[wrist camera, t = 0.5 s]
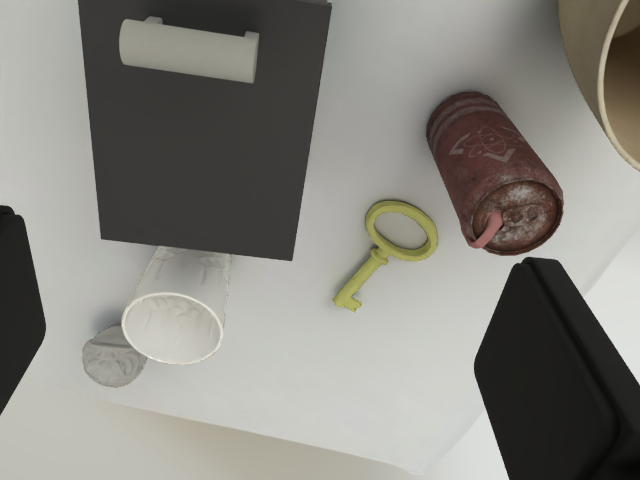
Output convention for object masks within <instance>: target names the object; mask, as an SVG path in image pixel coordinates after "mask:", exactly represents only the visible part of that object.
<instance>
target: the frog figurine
mask: <svg viewBox="0 0 640 480" xmlns="http://www.w3.org/2000/svg"><path fill="white" fill-rule="evenodd" d="M82 360H83V364H84V369H85V372H86V373H87V374H88V375H89V376H90V378H92V379H93V380H94V381H96V382H97V383H99V384H101V385H103V386H106V387H115V388H117V387H121V386H124V385H127V384H129V383H130V382H132V381H133V380H134V379H135V378H136V377H137V376H138V375H139V374H140V373H141V371H142V370H143V365H144V364H145V363H146V360H147V357H146V356H144V355H143V354H141V353H140V352H138V351H137V350H136V349H134V348H133V347H132V346H131V345H130V343H129V342H128V341H127V339H126V338H125V336H124V333H123V330H122V326H112V327H109V328H107V329H105V330H104V331H102V332H99V333H98V334H97V335H96V336H95V337H94V338H93V339H91V340H89V341H88V342H86V344H85V345H84V347H83V356H82Z"/></svg>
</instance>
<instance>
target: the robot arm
mask: <svg viewBox="0 0 640 480" xmlns="http://www.w3.org/2000/svg"><path fill="white" fill-rule="evenodd" d="M45 332H46V322H45V317H44V312H43V307H42V303H41V298H40V293H39V288H38V284H37V279H36V274H35V269H34V265H33V260H32V255H31V250H30V246H29V241H28V236H27V231H26V227H25V222H24V219H23V218H22V216H20V215H15V213H14V211H13V209H12V208H11V207H9V206H3V205H0V415H1V413H2V412H3V410H4V408H5V406H6V405H7V403H8V401H9V399H10V397H11V396H12V394H13V392H14V391H15V389H16V387H17V386H18V384H19V382H20V380H21V379H22V377H23V375H24V373H25V372H26V370H27V368H28V366H29V365H30V363H31V361H32V359H33V358H34V356H35V354H36V352H37V351H38V349H39V347H40V346H41V344H42V342H43V340H44V336H45ZM474 373H475V377H476V380H477V383H478V386H479V389H480V392H481V395H482V398H483V401H484V404H485V407H486V410H487V413H488V416H489V419H490V422H491V425H492V428H493V431H494V434H495V438H496V440H497V444H498V447H499V450H500V452H501V456H502V459H503V461H504V464H505V468H506V471H507V474H508V477H509V480H640V385H639V383H638V382H637V380H636V379H635V377H634V376H633V374H632V373H631V371H630V369H629V368H628V366H627V365H626V363H625V362H624V360H623V359H622V357H621V356H620V354H619V353H618V351H617V350H616V348H615V346H614V345H613V343H612V342H611V340H610V339H609V338H608V336H607V334H606V333H605V331H604V330H603V328H602V326H601V325H600V323H599V322H598V320H597V319H596V317H595V316H594V314H593V313H592V311H591V310H590V308H589V307H588V305H587V304H586V302H585V300H584V299H583V297H582V296H581V294H580V293H579V291H578V290H577V288H576V286H575V285H574V283H573V282H572V280H571V279H570V277H569V276H568V274H567V273H566V271H565V270H564V268H563V266H562V265H561V263H560V262H559V261H558V260H555V259H545V258H535V257H527V258H525V259H524V260H523V261H522V262H521V263H517V264H515V265H514V266H513V268H512V269H511V272H510V274H509V277H508V279H507V282H506V284H505V286H504V289H503V291H502V294H501V296H500V299H499V301H498V304H497V306H496V309H495V311H494V313H493V316H492V318H491V321H490V323H489V326H488V328H487V331H486V333H485V335H484V338H483V340H482V343H481V345H480V348H479V350H478V353H477V355H476V358H475V362H474Z"/></svg>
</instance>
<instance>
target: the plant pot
mask: <svg viewBox="0 0 640 480" xmlns="http://www.w3.org/2000/svg"><path fill="white" fill-rule="evenodd" d="M558 7H559V23H560V30H561V36H562V41H563V45H564V48H565V52H566V55H567V58H568V62H569V65H570V67H571V70H572V72H573V75H574V78H575V80H576V82H577V84H578V86H579V89H580V91H581V93H582V95H583V97H584V99H585V100H586V102H587V104H588V106H589V107H590V109H591V111H592V112H593V114H594V116H595V117H596V119H597V121H598V122H599V124H600V126H601V127H602V129H603V131H604V132H605V134H606V135H607V137H608V138H609V140H610V141H611V143H612V145H613V146H614V148H615V149H616V151H617V152H618V153H619V154H620V155H621V157H622V158H623V159H624V160H625V161H626V162H628V163H629V164H630V165H631V166H632V167H634V168H635V169H637V170H638V171H640V0H559V2H558Z"/></svg>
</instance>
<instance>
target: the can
mask: <svg viewBox="0 0 640 480" xmlns="http://www.w3.org/2000/svg"><path fill="white" fill-rule="evenodd" d="M426 137H427V141H428V145H429V148H430V150H431V153H432V155H433V157H434V160H435V162H436V165H437V167H438V170H439V172H440V174H441V177H442V179H443V182H444V184H445V187H446V189H447V191H448V194H449V196H450V199H451V201H452V203H453V206H454V208H455V211H456V213H457V216H458V218H459V221H460V225H461V230H462V233H463V235H464V237H465V239H466V241H467V243H468V245H469V246H470V247H473V248H476V249H477V248H482V249H484V250H486V251H487V252H489V253H493V254H497V255H500V256H515V255H519V254H523V253H526V252H529V251H531V250H533V249H535V248H537V247H539V246H541V245H542V244H543V243H545V242H546V241H547V240H548V239H549V238H550V237H551V236H552V235H553V234H554V233H555V231H556V230H557V228H558V227H559V225H560V222H561V219H562V215H563V205H564V202H563V191H562V189H561V187H560V186H559V184H558V182H557V180H556V179H555V177H554V176H553V175H552V174H551V172H550V171H549V170H548V168H547V167H546V166H545V165H544V163H543V162H542V161H541V159H540V158H539V157H538V155H537V154H536V153H535V152H534V150H533V149H532V148H531V146H530V145H529V144H528V143H527V141H526V140H525V139H524V137H523V136H522V135H521V133H520V132H519V131H518V130H517V128H516V127H515V126H514V124H513V123H512V122H511V121H510V119H509V118H508V117H507V115H506V114H505V113H504V112H503V110H502V109H501V108H500V106H499V105H498V104H497V103H496V102H495V101H494V100H493V99H491V98H490V97H489V96H487V95H484V94H481V93H478V92H464V93H461V94H457V95H454V96H451V97H450V98H448V99H447V100H445V101H444V102H442V103H441V104H440V105H439V106H438V107H437V109H436V110H435V111H434V112H433V113H432V115H431V118H430V120H429V122H428V124H427V133H426Z"/></svg>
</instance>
